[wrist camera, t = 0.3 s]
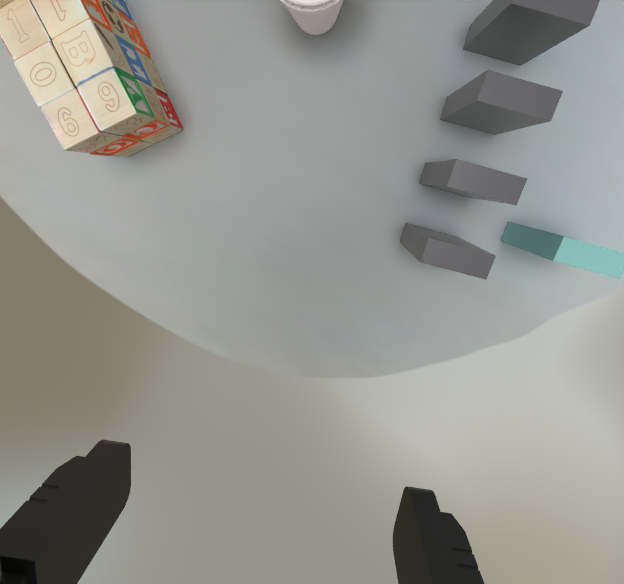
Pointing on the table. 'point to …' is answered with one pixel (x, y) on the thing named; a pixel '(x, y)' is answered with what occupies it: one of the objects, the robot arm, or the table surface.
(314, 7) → the smoothie
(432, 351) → the table surface
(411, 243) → the domino
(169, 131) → the stack of blocks
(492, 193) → the domino
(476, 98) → the domino
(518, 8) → the domino
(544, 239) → the domino
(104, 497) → the robot arm
